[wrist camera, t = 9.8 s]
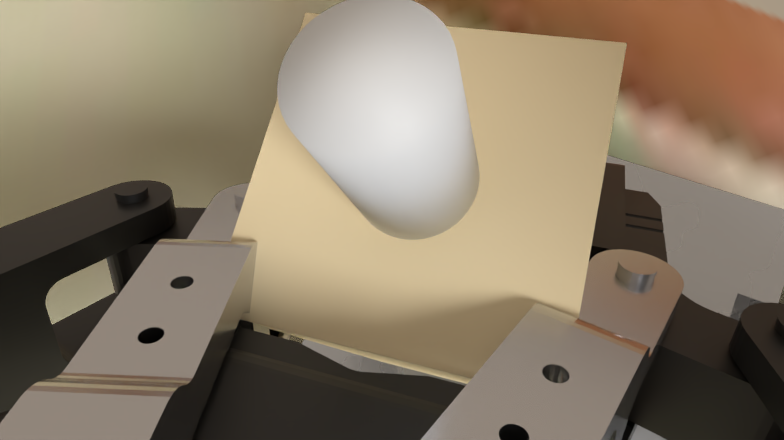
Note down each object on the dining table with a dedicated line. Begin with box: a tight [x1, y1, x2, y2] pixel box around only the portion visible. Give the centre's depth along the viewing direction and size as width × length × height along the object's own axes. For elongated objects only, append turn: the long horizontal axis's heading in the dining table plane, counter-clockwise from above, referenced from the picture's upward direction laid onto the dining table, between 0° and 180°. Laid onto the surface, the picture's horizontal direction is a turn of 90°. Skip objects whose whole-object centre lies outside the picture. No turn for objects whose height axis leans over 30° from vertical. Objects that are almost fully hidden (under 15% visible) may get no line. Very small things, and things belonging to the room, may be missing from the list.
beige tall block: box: [231, 0, 627, 384], centre depth 11 cm, size 4×4×12 cm
